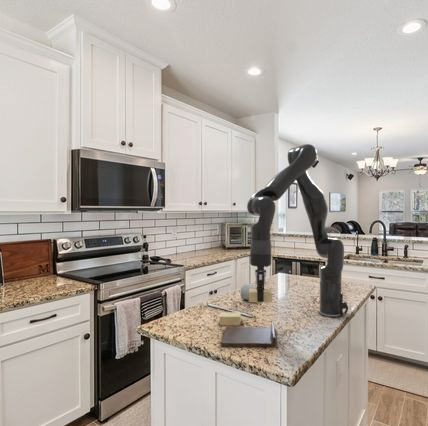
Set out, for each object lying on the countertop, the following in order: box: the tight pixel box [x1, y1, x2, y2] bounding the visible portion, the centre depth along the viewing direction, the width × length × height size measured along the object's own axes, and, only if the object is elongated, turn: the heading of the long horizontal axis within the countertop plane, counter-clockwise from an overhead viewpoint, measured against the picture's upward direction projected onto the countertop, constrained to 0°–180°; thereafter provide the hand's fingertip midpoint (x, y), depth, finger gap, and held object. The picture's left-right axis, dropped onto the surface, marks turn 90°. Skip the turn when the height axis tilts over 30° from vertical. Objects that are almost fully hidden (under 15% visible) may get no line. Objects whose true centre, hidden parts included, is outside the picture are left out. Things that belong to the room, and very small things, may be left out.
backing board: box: [220, 321, 276, 348], centre depth 107 cm, size 18×14×3 cm
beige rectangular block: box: [248, 288, 273, 303], centre depth 108 cm, size 8×5×4 cm, turn 89°
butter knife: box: [206, 303, 253, 317], centre depth 136 cm, size 1×27×3 cm
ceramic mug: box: [240, 283, 257, 301], centre depth 153 cm, size 11×8×8 cm
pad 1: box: [219, 311, 242, 327], centre depth 121 cm, size 8×5×4 cm, turn 89°
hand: (260, 299), depth 108 cm, fingers closed on beige rectangular block, 5 cm apart
